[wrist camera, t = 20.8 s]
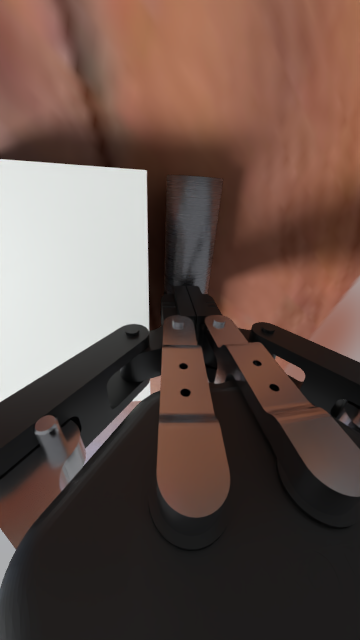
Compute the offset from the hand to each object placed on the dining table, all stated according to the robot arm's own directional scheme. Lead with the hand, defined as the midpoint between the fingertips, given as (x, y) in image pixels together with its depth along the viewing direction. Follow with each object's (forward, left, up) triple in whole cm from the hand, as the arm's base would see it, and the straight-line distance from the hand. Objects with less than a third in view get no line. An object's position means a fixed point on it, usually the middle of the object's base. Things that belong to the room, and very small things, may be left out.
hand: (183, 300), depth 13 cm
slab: (+7, 0, -1) cm, 7 cm away
